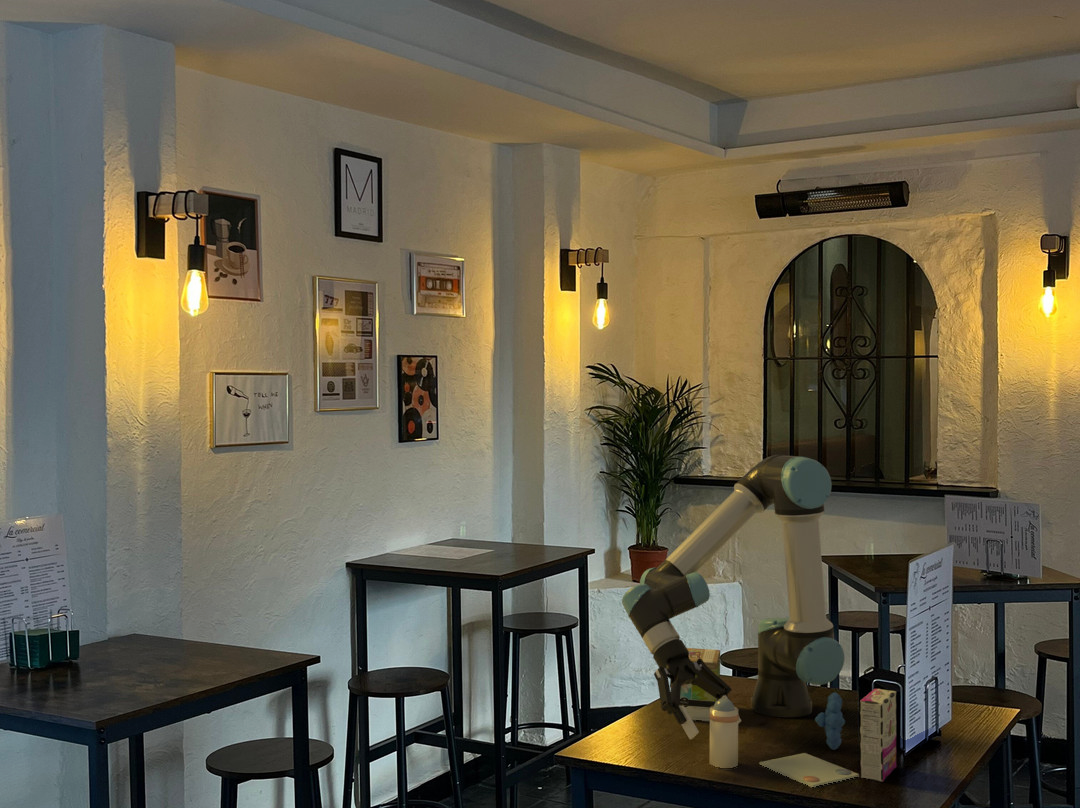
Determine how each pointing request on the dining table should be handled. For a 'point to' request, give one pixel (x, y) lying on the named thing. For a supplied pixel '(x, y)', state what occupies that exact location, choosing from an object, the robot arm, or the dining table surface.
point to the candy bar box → (878, 734)
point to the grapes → (832, 720)
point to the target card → (808, 769)
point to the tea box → (694, 696)
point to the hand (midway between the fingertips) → (716, 730)
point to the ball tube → (724, 734)
